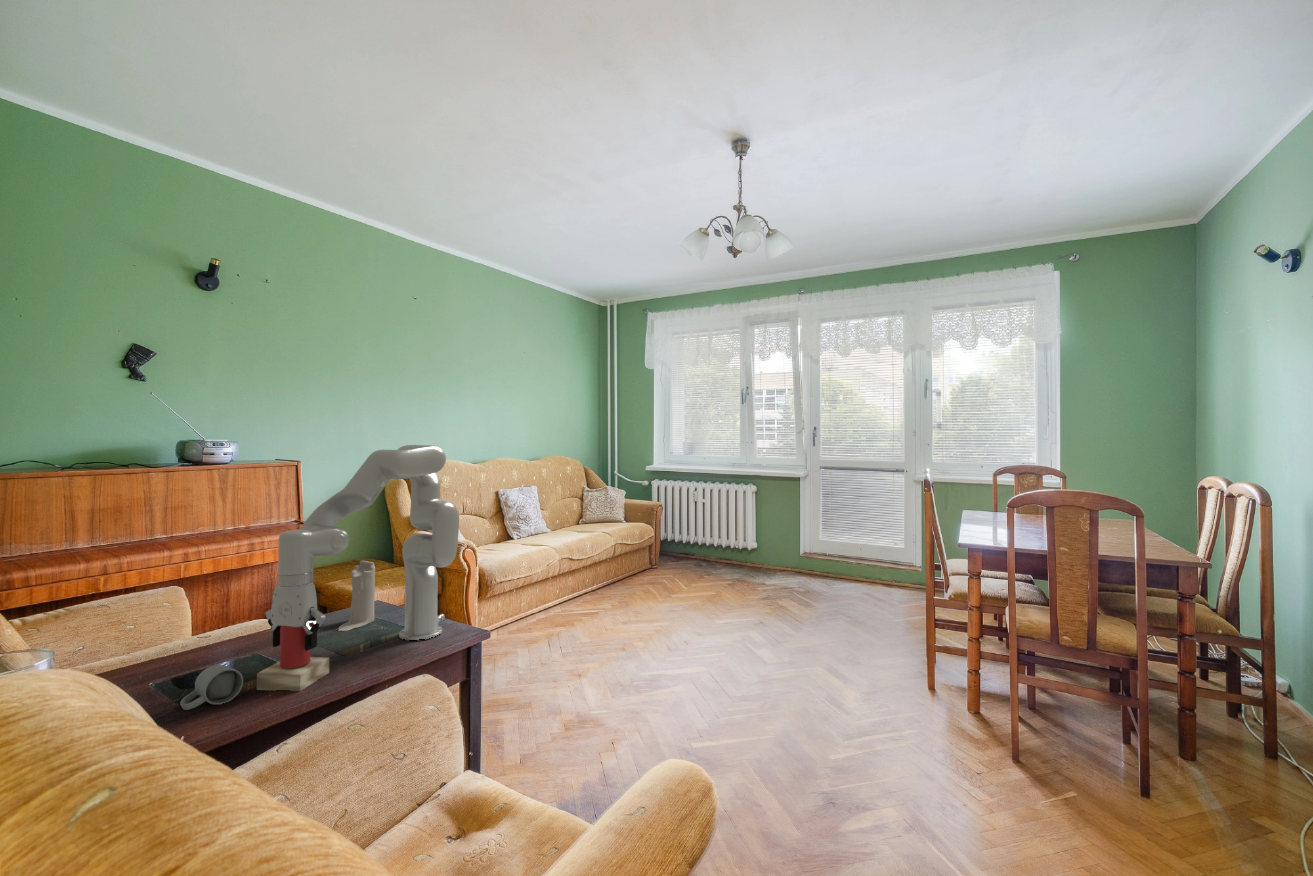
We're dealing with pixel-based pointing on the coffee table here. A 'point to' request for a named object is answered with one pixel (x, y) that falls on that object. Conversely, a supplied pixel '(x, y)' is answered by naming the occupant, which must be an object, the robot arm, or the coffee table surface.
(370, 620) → the beige boot
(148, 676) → the coffee table surface
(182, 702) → the ceramic mug
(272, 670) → the birch block
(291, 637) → the beer can
